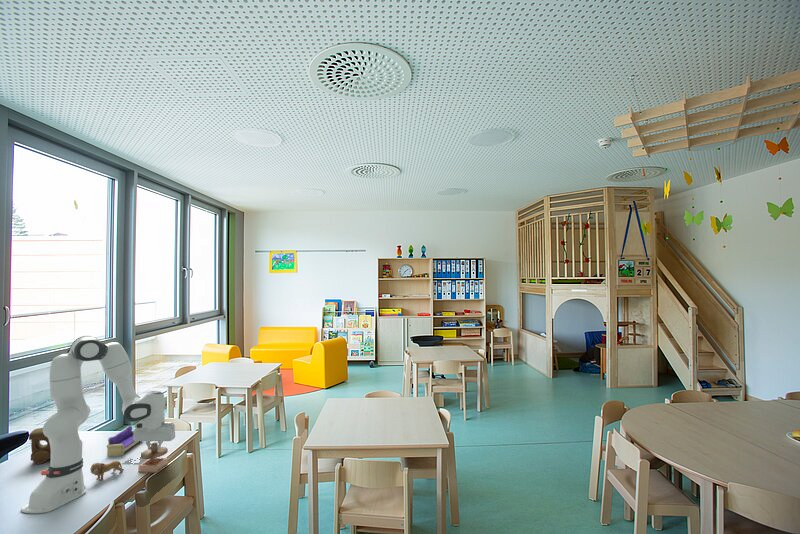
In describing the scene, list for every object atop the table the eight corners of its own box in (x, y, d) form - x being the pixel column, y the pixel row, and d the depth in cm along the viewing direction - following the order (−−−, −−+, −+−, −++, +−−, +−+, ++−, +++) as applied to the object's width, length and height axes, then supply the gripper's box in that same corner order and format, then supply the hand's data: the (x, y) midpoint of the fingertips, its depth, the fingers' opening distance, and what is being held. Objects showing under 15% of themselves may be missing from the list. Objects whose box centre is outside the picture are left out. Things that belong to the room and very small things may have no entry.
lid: (139, 461, 192) (139, 450, 192) (141, 452, 202) (141, 441, 202) (167, 455, 198) (167, 444, 198) (167, 447, 208) (168, 437, 208)
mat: (146, 465, 203) (146, 464, 203) (120, 464, 203) (121, 464, 203) (163, 453, 217) (163, 453, 217) (140, 453, 217) (140, 452, 217)
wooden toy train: (26, 467, 201) (28, 435, 201) (34, 458, 211) (35, 427, 211) (75, 458, 210) (76, 428, 211) (80, 450, 220) (81, 421, 221)
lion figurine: (93, 485, 183) (93, 466, 183) (87, 482, 185) (88, 463, 186) (126, 471, 196) (127, 454, 196) (120, 469, 198) (121, 451, 199)
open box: (155, 473, 195) (155, 466, 195) (138, 472, 195) (138, 465, 195) (167, 464, 204) (167, 457, 204) (150, 464, 204) (151, 457, 204)
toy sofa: (122, 456, 213) (122, 438, 214) (105, 457, 213) (106, 438, 213) (144, 441, 234) (144, 424, 235) (129, 441, 234) (129, 424, 234)
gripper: (178, 420, 204) (177, 446, 203) (139, 420, 204) (139, 446, 203) (170, 424, 197) (170, 451, 197) (131, 424, 197) (130, 452, 197)
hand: (154, 449), depth 200 cm, fingers closed on lid, 3 cm apart
